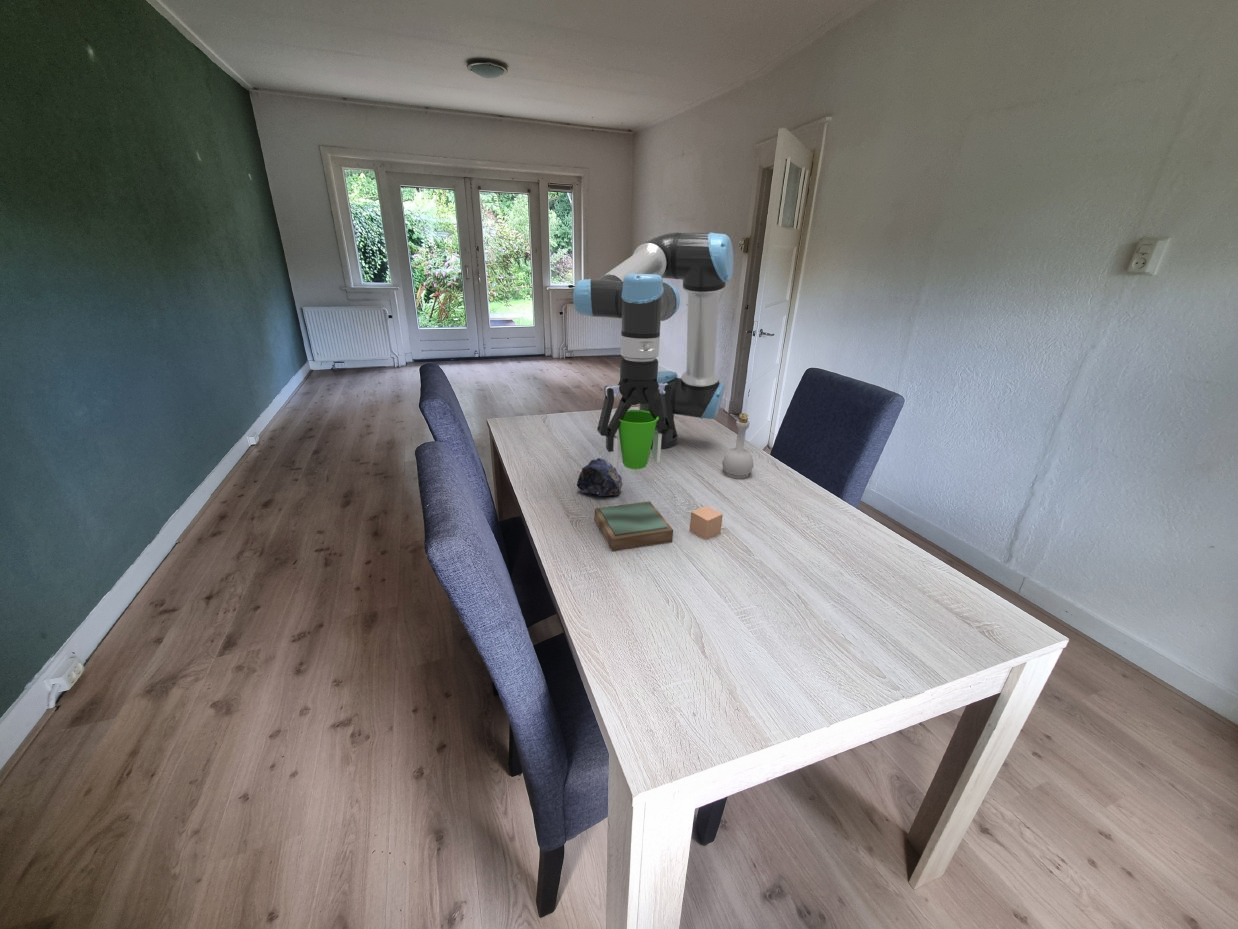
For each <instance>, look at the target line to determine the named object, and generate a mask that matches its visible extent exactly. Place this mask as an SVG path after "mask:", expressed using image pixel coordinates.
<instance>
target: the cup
mask: <svg viewBox="0 0 1238 929" xmlns="http://www.w3.org/2000/svg"><path fill="white" fill-rule="evenodd" d="M658 419H659V417H656V419H654V418H653V417H652V415H651V413H650V411H645V410H639V409H628V411H627V412H626V414H625V416H624V418H623V420H620V419H619V421H620V422H621V424H620V426H619V428H618V430H617V431H618V436H619V443H620V444H619V445H620V451H621V458H622V459H621V460H622V463H623V466H624V467H625V468H627V469H630V470H642V469H644V468H646V467H647V465H648V462H649V458H650V453H651V449H652V448H651V445H652V440H653V436H654V431H655V427H656V422H657V421H658Z"/></svg>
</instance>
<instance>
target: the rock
mask: <svg viewBox="0 0 1238 929" xmlns="http://www.w3.org/2000/svg"><path fill="white" fill-rule="evenodd" d="M576 482H577V483H576V486H577V489H578V490H579V491H581V492H582V493H584V494H587V495H591V496H593V495H597V496H599V497H605V496H617V495H619V494H620V492H621V489H622V486H623V485H624V483H623V478H622V476H621V475H620V474H619V473H618V471H617V467H613V466H612V465H611V463H610V462H608V460H606V459H604V458H600V457H598V458H596V459H592V460H590V461H589V463H588V464H587V465H585V466H584V467H582V468H581V472H580V473H579V475H578V479H577V481H576Z"/></svg>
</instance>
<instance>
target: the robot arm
mask: <svg viewBox="0 0 1238 929" xmlns="http://www.w3.org/2000/svg"><path fill="white" fill-rule="evenodd" d="M733 268H734V251H733V244H732V240H731V238H730V237H729V236H728V235H727V234H725V233H716V232H715V233H714V232H712V231H711V232H668V233H663V234H661V235H658V236H655V237H653V238H651V239H649V240H646V241H644V242H643V243H642V244H640V245H638V246H637V247H636V248H635V249H634V251H633V253H632V255H631V256H630V257H628V258H627V259H625V260H624V261H622V262H621V263H620V264H618V265H617V266H615V267H614V268H612V269H611V270H610V271H608V272H607V273H606V274H604V275H602V276H601V277H599V278H597V279H592V278H587V279H580V280H578V281H577V282H576V283H575V286H574V289H573V293H572V300H573V307H574V309H575V311H576V312H577V314H579V315H580V316H587V317H591V318H594V317H595V318H606V319H607V318H610V319H621V332H620V334H621V336H620V337H621V338H620V355H621V359H620V361H619V362H620V365H619V366H620V367H619V368H620V369H619V381H618V383H617V385H613V386H610V385H605V386H604V387H603V390H604V400H603V402H602V404H603V405H602V409H601V411H600V412H601V413H600V416H599V419H598V420H599V421H598V424H597V432H598V433H599V434H600V436H603V437H605V449H606V450H607V452H608V453H609V463H610V464H611V465H612V466H613V467H615V468H618V448H619V447H618V446H619V441H618V440H619V438H618V436H617V435H616V433H617V432H618V431H619V430H618V428H619V426H620V424H621V422H620V421H619V419H620V420H623V418H624V416H625V414H626V412H627V411H628V410H631V406H636V405H638V406H639V408H638V410H645V411H650V413H651V415H652V417H653V418H654V419H656V417H659V419H658V421H657V422H656V427H655V431H654V436H653V440H652V445H651V449H652V453H651V458H652V459H653V461H654V462H655V463H657V464H658V463H661V454H662V449H669V448H673V447H674V446H676V445H677V444H678V442H679V441H678V438H679V436H678V432H677V428H676V424H675V415H677V416H684V417H693V418H698V419H702V420H703V419H705V420H706V419H707V420H708V419H709V420H711V419H715V417H717V415H718V412H719V410H720V407H721V404H722V400H723V396H724V392H725V384H724V382H722V381H720V375H719V374H718V372H716V354H717V340H718V339H717V336H718V325H719V324H718V323H719V322H718V321H719V305H720V304H719V303H720V293H721V292H722V291H723V290H724V289H725V288H726V283H727V282H730V281H731V280H732V278H733V277H732V276H733V273H734V270H733ZM664 279H670V280H671V279H672V280H680V281H681V280H682V288H683V290H684V291H685V292H686V293H687V323H686V324H687V326H686V327H687V330H686V367H685V368H686V369H685V370H686V371H684V372H683V373H682V375H681V377H678V373H677V372H676V371H672V370H663V371H662V370H660V371H659V360H658V359H657V358H658V357H659V356H660V355H659V354H660V338H661V336H660V335H661V322H664V321H667V320H668V319H670V318H672V317H673V316H674V315H675V314H676V313H677V312H678V310H679V308H680V304H681V296H680V293H679V290H678V289H677V288H676V287H675V286H674V285H673V284H671V283H668V282H666V281H664ZM618 393H620V395H621V397H620V399H619V404H618V406H617V408H616V410H615V412H614V414H613V415H612V412H613V406H614V403H615V398H616V397H617V394H618ZM611 416H612V418H611Z"/></svg>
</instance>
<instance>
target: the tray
mask: <svg viewBox="0 0 1238 929" xmlns="http://www.w3.org/2000/svg"><path fill="white" fill-rule="evenodd" d="M593 518H594V522H595V524H596V525H597V527H598V529H599V531H600V532H601V534H602V536H603V538H604V539H605V542H606V543H607V545H608V547H609V549H610V550H611V552H617V551H623V550H628V549H629V550H631V549H636V548H641V547H642V548H643V547H649V546H655V545H660V544H667V543H673V539H674V529H673V528H672V526H671V525H670V524H669V523H668V522H667V521H666V519H665V517H663V516H662V514H661V512H659V511H658V509H657V507H655V505H654V504H653V503H652V501H650V500H649V501H643V502H642V501H641V502H636V503H635V502H633V503H626V504H620V505H618V504H617V505H611V506H604V507H598V508H597V507H596V508H594V517H593Z"/></svg>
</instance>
